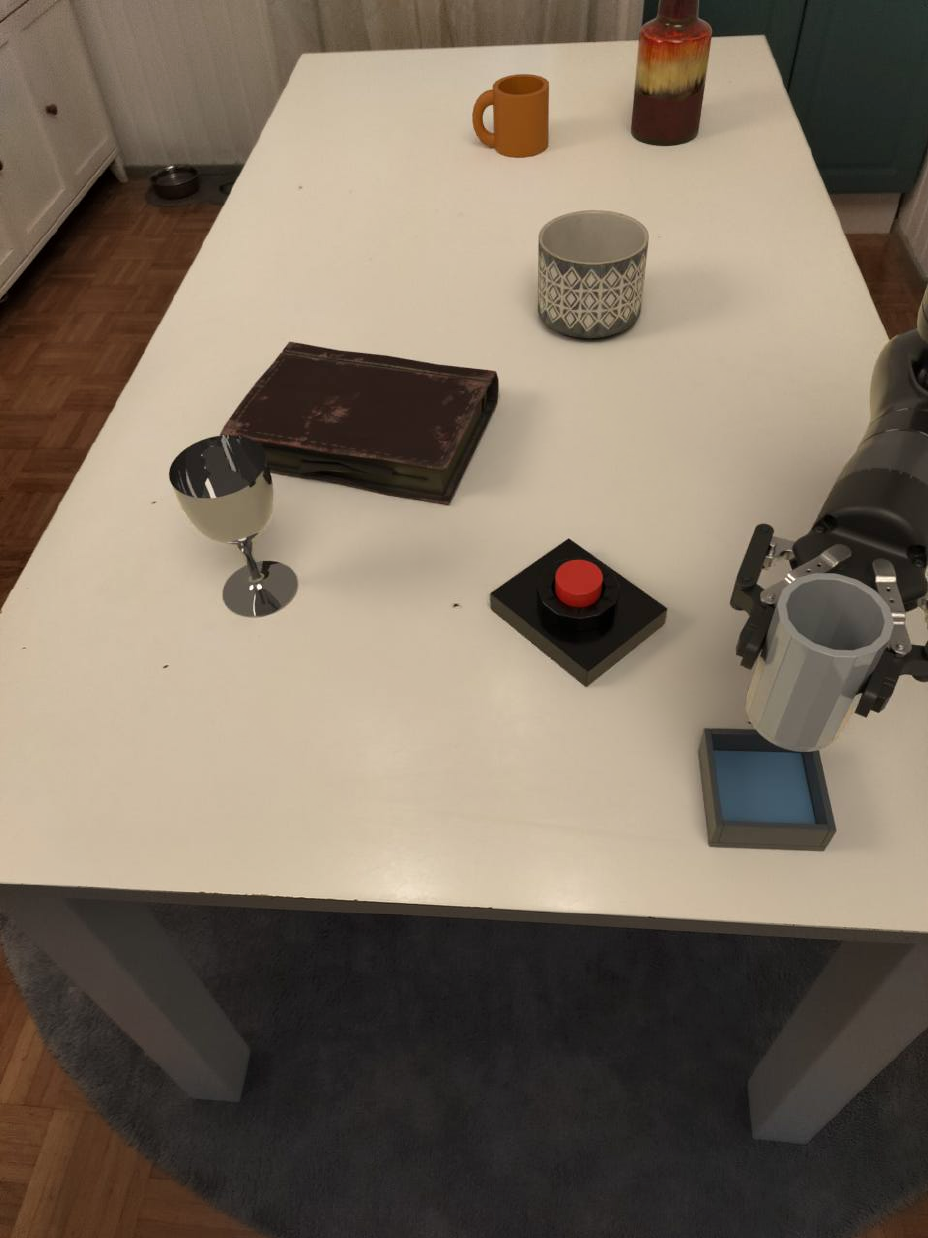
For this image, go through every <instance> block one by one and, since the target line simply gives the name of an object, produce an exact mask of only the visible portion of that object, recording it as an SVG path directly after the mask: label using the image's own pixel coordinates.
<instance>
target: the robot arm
mask: <svg viewBox="0 0 928 1238" xmlns="http://www.w3.org/2000/svg"><path fill="white" fill-rule="evenodd" d="M924 290H925V291H924V294H923V297H922V299H921V302H920V306H919V308H918V312H917V319H916V321H917V322H916V326H917V327H915V328H909V329H906V330H903V331H902V332H900V333H898V334H895V336H893V337H891V338H890V340H888V342H887V343H885V344H884V346H883V348H882V349H880V352H879V354H878V356H877V358H876V360H875V363H874V366H873V369H872V374H871V378H870V386H869V387H870V388H869V411H870V418H869V424H868V426H867V428H866V430H865V432H864V434H863V437H862V438H861V440H860V443H859V445H858V446H857V448H856V450H855V451H854V453H853V454H852V456H851V457H850V458H849V459H848V461H847V462H846V463H845V464H844V466H843V467H842V469H841V471H840V472H839V474H838V476H837V478H836V480H835V482H834V484H833V486H832V488H831V490H830V492H829V493H828V495H827V497H826V499H825V501H824V503H823V505H822V507H821V509H820V510H819V512H818V514H817V516H816V518H815V520H814V522H813V524H812V526H811V528H810V530H809V531H808V533H806V534H805V535H803V536H801V537H798V538H797V539H796V540H795V541H793V540H788V539H785V538H782V537H778V536H775V535H774V533H775V529H774V527H773V526H772V525H770V524H768V523H759V524H757V525H756V526H755V528H754V530H753V533H752V535H751V538H750V540H749V543H748V546H747V549H746V552H745V554H744V557H743V558H742V562H741V563H740V567H739V569H738V572H737V575H736V578H735V581H734V585H733V589H732V592H731V596H730V600H729V605H730V607H731V608H732V609H733V610H735V611H737V612H745V613H747V615H748V618H747V619H746V622H745V624H744V626H743V627H742V629H741V631H740V633H739V636H738V640H737V643H736V645H735V656H738V657H740V658H741V662H740V665H739V667H743V668H745V669H746V670H747V669H748V670H750V671H752V670H753V668H754V666H755V664H756V662H757V660H758V659H759V657H760V654H761V651H762V648H763V645H764V642H765V639H766V636H767V633H768V630H769V627H770V624H771V621H772V618H773V615H774V612H775V609H776V606H777V603H778V600H779V597H780V595H781V592H782V590H783V589H784V588H785V587H786V586H787V585H789V584H790V583H791V582H792V581H794V580H795V579H797V578H799V577H803V576H806V575H810V574H813V573H835V574H840V575H843V576H846V577H850V578H853V579H856V580H859V581H860V582H862V583H864V584H865V585H867V586H868V587H870V588H872V589H873V590H875V591H876V592H877V593H878V594H879V595H880V596H881V597H882V599H883V600H884V601H885V602H886V603H887V605H888V606H889V607H890V611H891V614H892V618H893V621H894V626H893V630H892V634H891V637H890V640H889V642H888V644H887V646H886V648H885V650H884V652H883V654H882V656H881V658H880V660H879V662H878V664H877V666H876V668H875V669H874V671H873V673H872V675H871V677H870V679H869V681H868V683H867V685H866V687H865V689H864V691H863V693H862V695H861V697H860V699H859V701H858V703H857V705H856V707H855V709H854V711H853V713H854V714H856V715H858V716H860V717H863V718H866V719H867V717H869V715H870V712H871V711H872V712H874V713H877V714H879V713H881V712H882V711H883V710H885V709H886V707H887V705H888V703H889V701H890V699H891V698H892V696H893V694H894V692H895V688H896V686H897V683H898V681H899V678H900V677H901V676H911V677H912V678H913V679H914V680H916V681H917V682H919V683H920V682H921V683H928V640H927V641H926V642H925V644H924V645H919V644H912V642H911V639H910V635H909V633H908V630H907V626H906V621H907V620H906V618H907V613H909V612H912V611H914V610H916V609H918V608H920V609H921V610H923V611H924V615H925V616H924V622H925V623H926V624H927V626H926V629H927V630H928V579H927V577H926V571H927V569H928V283H927V284H926V287H925V289H924ZM781 561H788V564H789V567H790V569H791V570H790V571H789V572H788V573H787V574H786V575H785V576H784V578H783V579H782V580H779V581H778V582H776V583H774V584H772V585H770V586H768V587H767V588H763V586H760V585H759V584H758V581H759V579H760V576H761V573H762V571H767V572H768V571H770V569H771V568H774V567H775V566H777V564H778V563H780V562H781Z"/></svg>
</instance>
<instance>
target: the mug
mask: <svg viewBox="0 0 928 1238" xmlns="http://www.w3.org/2000/svg"><path fill="white" fill-rule="evenodd" d="M490 106H492V113H493V114H492V115H493V116H492V118H493V119H492V121H493V132H490V130H488V129H487V128H486V126H485V124H484V112H485V111H486V109H487V108H488V107H490ZM549 114H550V81H548V79H547V78H545V77H543V76H542V75H541V76H540V75H537V74H530V73H522V74H521V73H519V74H512V75H507V76H503V77H501V78H499V79H497V80H496V81H494V82H493V84H492V88H491V89H488V90H485V91H483V92H482V93H481V94H480V95H479V96H478V97H477V98H476V100H475V103H474V105H473V108H472V114H471V116H472V117H471V118H472V119H471V120H472V121H471V123H472V126H473V127H472V128H473V131H474V132H475V136H476V137H477V139H478V140H479V141H480V143H482V144H483V145H484V146H485V147H488V148H491V149H494V150H495V151H496V152H497V153H499V154H500V155H502V156H505V157H509V158H527V157H531V156H532V157H533V156H536V155H539V154H541V153H543V152H544V151H546V150H547V148H548V147H549V128H550V127H549V123H550V122H549V121H550V119H549V118H550V115H549Z"/></svg>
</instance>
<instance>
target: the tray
mask: <svg viewBox="0 0 928 1238" xmlns="http://www.w3.org/2000/svg"><path fill="white" fill-rule="evenodd" d="M697 756H698V764H699V772H700V781H701V789H702V798H703V806H704V814H705V824H706V832H707V833H706V834H707V841H708V842H707V843H708V847H709V848H731V849H756V850H780V851H781V850H783V851H807V852H809V851H810V852H825V851H826V850H827V847H828V846H829V844H830V843H831V841H832V840H833V837H834V836H835V834H836V832H837V826H836V821H835V817H834V813H833V808H832V804H831V799H830V794H829V790H828V785H827V781H826V776H825V772H824V768H823V763H822V757H821V753H820V750H817V751H811V752H798V751H791V750H787V749H784V748H781V747H779V746H777V745H775V744H773V743H771V742H769V741H768V740H766V739H765V738H764V737H763V736H761V735H760V734H759V733H758V732H757V730H756V729H755V728H753V729H752V728H720V727H719V728H718V727H717V728H714V727H711V728H710V727H704V728H703V731H702V736H701V739H700V741H699V745H698V750H697Z"/></svg>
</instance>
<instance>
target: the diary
mask: <svg viewBox="0 0 928 1238" xmlns="http://www.w3.org/2000/svg"><path fill="white" fill-rule="evenodd" d="M499 380H500V379H499V376H498V373H497V370H491V369H483V368H475V367H465V366H456V365H448V364H447V365H446V364H440V363H439V364H438V363H433V362H427V361H421V360H415V359H409V358H405V357H399V356H392V355H387V354H377V353H368V352H360V351H351V350H350V351H349V350H340V349H334V348H330V347H324V346H318V345H313V344H306V343H302V342H295V341H288V343H286V345H285V346H284V348H283V349H282V351H281V352H280V353H279V354H278V355H277V357H276V358H275V359H274V360H273V362H272V363H271V364H270V366H268V368H267V369H266V370H265V371H264V373H263V374H262V375H260V377H259V378H258V379H257V380H256V382H255V383H254V384H253V385H252V387H251V389H249V391H248V392H247V393H246V395H245V396H244V397H243V399H242V400H241V401H240V402H239V404H238V405H237V406H236V408H235V409H234V411H233V413H232V414H231V416H230V417H229V419H227V421H226V422H225V424H224V425H223V427H222V429H221V431H220V433H219V436H222V435H236V436H242V437H246V438H249V439H251V440H253V441H255V442H256V443H258V444H259V445H260V446H261V447H262V449H263V450H264V452H265V455H266V458H267V461H268V464H269V469H270V473H275V474H280V475H286V476H287V475H288V476H293V477H300V478H305V479H307V478H308V479H314V480H319V481H328V482H333V483H338V484H341V485H345V486H349V487H353V488H356V489H361V490H365V491H369V492H373V493H377V494H380V495H385V496H390V497H396V498H404V499H411V500H419V501H425V502H432V503H438V504H444V505H450V503H451V501H452V499H453V496H454V495H455V493H456V491H457V489H458V486H459V483H460V482H461V480H462V479H463V476H464V474H465V472H466V469H467V467H468V465H469V463H470V461H471V459H472V457H473V455H474V453H475V451H476V449H477V446H478V445H479V443H480V440H481V438H482V436H483V434H484V432H485V430H486V428H487V426H488V424H489V422H490V420H491V417H492V416H493V413H494V412H495V409H496V407H497V405H498V403H499V402H498V401H499V390H500V383H499Z"/></svg>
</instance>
